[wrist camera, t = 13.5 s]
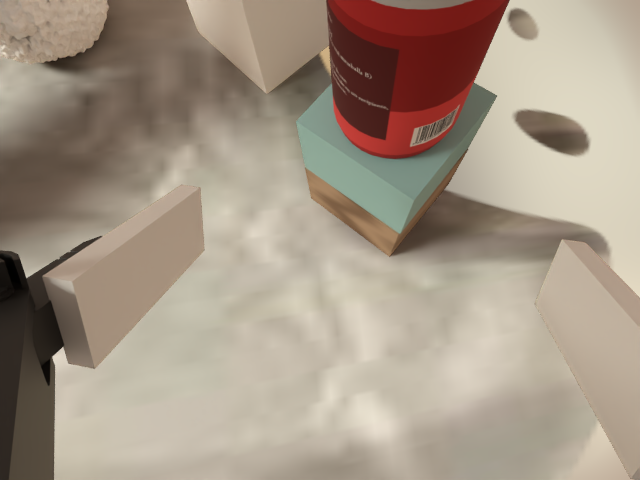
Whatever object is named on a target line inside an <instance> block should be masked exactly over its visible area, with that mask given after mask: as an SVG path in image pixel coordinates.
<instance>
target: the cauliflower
mask: <svg viewBox="0 0 640 480" xmlns="http://www.w3.org/2000/svg"><path fill="white" fill-rule="evenodd" d="M108 9H109V6H108V4H107V0H0V57H5V58H8V59H14V60H15V61H19V62H22V63H23V62H27V63H28V64H33V63H35V62H39V63H40V62H41V63H44V62H45V61H51V60H54V61H56V60H57V58H58V57H59V58H62V57H64V58H65V57H66V56H76V54H77V53H79V52H84V51H85V50H86V48H91V47H92V46H93V44H94V41H96V40H98V38H99V35H100V34H101V31H102V30H103V28H104V23H105V20H106V19H107V12H108V11H107V10H108Z"/></svg>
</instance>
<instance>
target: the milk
mask: <svg viewBox="0 0 640 480" xmlns="http://www.w3.org/2000/svg"><path fill="white" fill-rule="evenodd" d="M186 1H187V4H188V7H189V9H190V12H191V14H192V17H193V20H194V22H195V25H196V28H197V30H198V32H199V33H200V34H201V35H202V36H203V37H204V38H205V39H206V40H208V41H209V42H210V43H211V44H212V45H213V46H214V47H215V48H216V49H217V50H219V51H220V52H221V53H222V54H223V55H224V56H225V57H226V58H227V59H229V60H230V61H231V62H232V63H233V64H234V65H235V66H236V67H237V68H238V69H240V70H241V71H242V72H243V73H244V74H245V75H246V76H247V77H248V78H250V79H251V80H252V81H253V82H254V83H255V84H256V85H257V86H258V87H259V88H261V89H262V90H263V91H264V92H265V93H266V94H268V93H269V92H271V91H272V90H273V89H274V88H276V87H277V86H278V85H279V84H281V83H282V82H283V81H285V80H286V79H287V78H288V77H290V76H291V75H292V74H293V73H295V72H296V71H297V70H298V69H300V68H301V67H302V66H303V65H305V64H306V63H307V62H309V61H310V60H311V59H312V58H314V57H315V56H316V55H317V54H319V53H320V52H321V51H322V50H324V49H325V48H326V47H327V46H329V35H328V21H327V6H326V0H186Z"/></svg>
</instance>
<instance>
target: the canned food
mask: <svg viewBox="0 0 640 480" xmlns="http://www.w3.org/2000/svg"><path fill="white" fill-rule="evenodd" d="M508 3H509V0H326V6H327V21H328V35H329V49H330V63H331V78H332V92H333V107H334V113H335V117H336V120H337V122H338V124H339V126H340V128H341V130H342V131H343V133H344V135H345V136H346V137H347V138H348V140H349V141H350V142H351V143H352V144H353V145H355V146H356V147H357V148H359V149H360V150H362V151H364V152H366V153H368V154H370V155H373V156H377V157H381V158H389V159H399V158H407V157H411V156H415V155H418V154H420V153H422V152H424V151H426V150H428V149H430V148H431V147H433V146H434V145H435V144H437V143H438V142H439V141H440V140H441V139H443V138H444V137H445V136H446V134H447V133H448V132H449V131H450V130H451V129H452V128H453V126H454V124H455V122H456V121H457V119H458V117H459V115H460V112H461V110H462V108H463V105H464V103H465V101H466V99H467V96H468V94H469V92H470V89H471V87H472V85H473V83H474V80H475V78H476V76H477V74H478V71H479V69H480V66H481V64H482V62H483V60H484V58H485V55H486V53H487V50H488V48H489V46H490V44H491V42H492V39H493V37H494V34H495V32H496V30H497V28H498V26H499V23H500V21H501V19H502V16H503V14H504V12H505V10H506V7H507V5H508Z"/></svg>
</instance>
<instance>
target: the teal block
mask: <svg viewBox="0 0 640 480" xmlns="http://www.w3.org/2000/svg"><path fill="white" fill-rule="evenodd" d="M496 97H497V95H495V94H493V93H491V92H490V91H488V90H486V89H484V88H482V87H481V86H479V85H477V84H475V83H473V85H472V87H471V89H470V92H469V94H468V96H467V99H466V101H465V103H464V105H463V108H462V110H461V112H460V115H459V117H458V119H457V121H456V122H455V124H454V126H453V128H452V129H451V130H450V131H449V132H448V133H447V134H446V136H445V137H444V138H443V139H441V140H440V141H439V142H438V143H437V144H435V145H434V146H433V147H431V148H430V149H428V150H426V151H424V152H422V153H420V154H418V155H415V156H411V157H407V158H399V159H389V158H381V157H377V156H373V155H370V154H368V153H366V152H364V151H362V150H360V149H359V148H357V147H356V146H355V145H353V144H352V143H351V142H350V141H349V140H348V138H347V137H346V136H345V135H344V133H343V131H342V130H341V128H340V126H339V124H338V122H337V120H336V117H335V113H334V107H333V92H332V83H331V84H330V86H329V87H328V88H327V89H326V90H325V91H324V92H323V93H322V94H321V95H320V96H319V97H318V98H317V99H316V100H315V102H314V103H313V104H312V105H311V106H310V107H309V108H308V109H307V110H306V111H305V112H304V113H303V114H302V115H301V116H300V118H299V119H298V120H297V121H296V124H297V129H298V133H299V138H300V143H301V148H302V153H303V158H304V163H305V168H307V169H308V170H310V171H311V172H312V173H314V174H315V175H317V176H318V177H320V178H321V179H322V180H324V181H325V182H327V183H328V184H330V185H331V186H332V187H334V188H335V189H337V190H338V191H339V192H341V193H342V194H344V195H345V196H347V197H348V198H349V199H351V200H352V201H354V202H355V203H357V204H358V205H359V206H361V207H362V208H364V209H365V210H366V211H368V212H369V213H371V214H372V215H374V216H375V217H376V218H378V219H379V220H381V221H382V222H384V223H385V224H386V225H388V226H389V227H391V228H392V229H393V230H395V231H396V232H398V233H399V234H401V232H402V231H403V230H404V229H405V227H406V226H407V225H408V224H409V222H410V221H411V220H412V218H413V217H414V216H415V215H416V213H417V212H418V211H419V210H420V208H421V207H422V206H423V204H424V203H425V202H426V201H427V199H428V198H429V197H430V196H431V194H432V193H433V192H434V190H435V189H436V188H437V187H438V185H439V184H440V183H441V182H442V180H443V179H444V178H445V177H446V175H447V174H448V173H449V171H450V170H451V169H452V168H453V166H454V165H455V164H456V163H457V161H458V160H459V159H460V157H461V156H462V155H463V154H464V152H465V151H466V150H467V149H468V147H469V145H470V144H471V142H472V140H473V138H474V136H475V135H476V133H477V131H478V129H479V128H480V126H481V124H482V122H483V120H484V119H485V117H486V115H487V113H488V112H489V110H490V108H491V106H492V104H493V103H494V101H495V99H496Z"/></svg>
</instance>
